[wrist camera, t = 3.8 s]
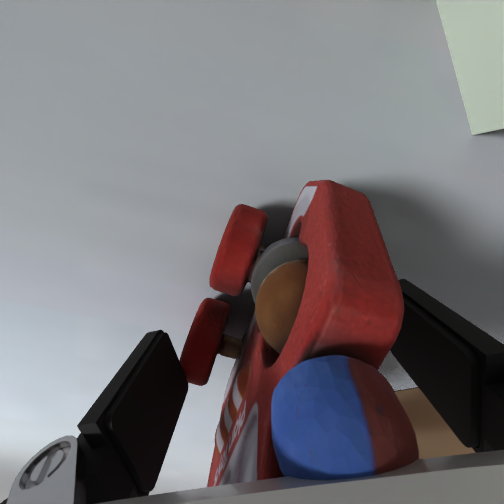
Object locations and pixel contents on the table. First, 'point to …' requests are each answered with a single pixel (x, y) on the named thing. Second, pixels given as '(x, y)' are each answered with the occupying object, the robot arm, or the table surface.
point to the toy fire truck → (305, 345)
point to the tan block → (430, 426)
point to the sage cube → (477, 58)
